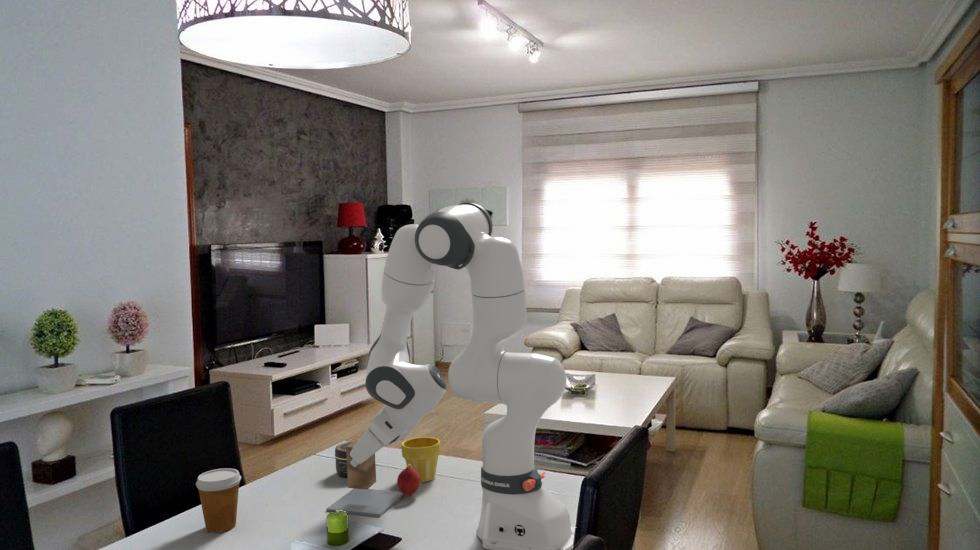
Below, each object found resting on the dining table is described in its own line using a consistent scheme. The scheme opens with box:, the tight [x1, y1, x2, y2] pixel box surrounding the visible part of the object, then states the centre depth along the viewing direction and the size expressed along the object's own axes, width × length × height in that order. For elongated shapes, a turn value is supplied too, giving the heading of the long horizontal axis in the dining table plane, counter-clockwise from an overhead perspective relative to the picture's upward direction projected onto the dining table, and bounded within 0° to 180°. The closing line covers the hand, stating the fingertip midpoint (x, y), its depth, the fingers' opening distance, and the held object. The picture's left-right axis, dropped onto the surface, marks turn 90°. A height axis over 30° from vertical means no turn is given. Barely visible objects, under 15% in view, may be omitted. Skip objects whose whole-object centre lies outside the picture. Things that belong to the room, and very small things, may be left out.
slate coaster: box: [325, 488, 405, 518], centre depth 167 cm, size 14×14×1 cm
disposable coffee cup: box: [195, 467, 242, 533], centre depth 154 cm, size 10×10×12 cm
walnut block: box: [346, 440, 377, 489], centre depth 165 cm, size 5×5×10 cm
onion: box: [396, 464, 422, 497], centre depth 170 cm, size 6×6×8 cm
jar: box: [334, 440, 355, 479], centre depth 188 cm, size 10×10×8 cm
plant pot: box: [400, 436, 442, 483], centre depth 183 cm, size 10×10×10 cm
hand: (359, 459), depth 165 cm, fingers closed on walnut block, 5 cm apart
